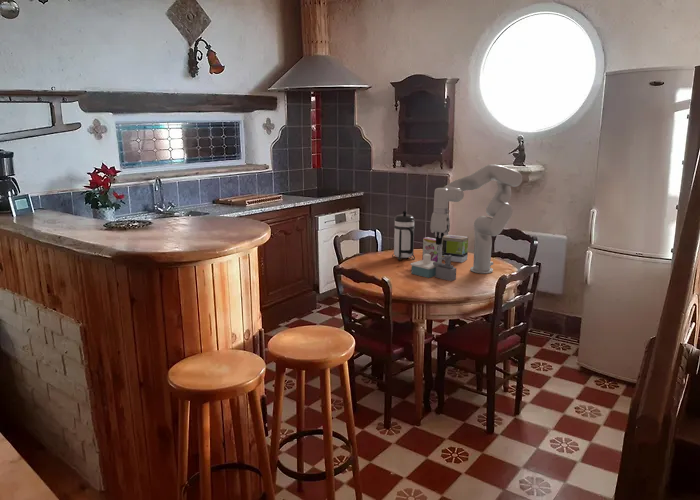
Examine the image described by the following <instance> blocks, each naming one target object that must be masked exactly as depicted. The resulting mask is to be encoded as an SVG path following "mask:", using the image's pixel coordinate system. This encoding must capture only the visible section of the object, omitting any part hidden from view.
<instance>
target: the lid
mask: <svg viewBox="0 0 700 500" xmlns="http://www.w3.org/2000/svg"><path fill="white" fill-rule="evenodd" d="M422 255H423V254H422ZM433 262H435V261H431V255H430V254H424V255H423V260H422V259H420V260H418V261H414V262H411V263H410V266H411V267H412V266H416V267H421V268H425V269H432V268H436V266H437V265H433Z"/></svg>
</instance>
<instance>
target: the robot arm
mask: <svg viewBox="0 0 700 500" xmlns="http://www.w3.org/2000/svg"><path fill="white" fill-rule="evenodd" d="M522 175H523V174H521V172H520V171H517V170H515V169H512V168H508V167H506V166H503V165H498V164H487V165H485V166H483V167H481V168H480V169H478V170H477V171H475V172H473V173H472V174H470V175H469V174H468V175H467V176H464V177H461V178H457V179H455V180H453V181H451V182H449V183H448V184H446V185H444V186H443V187H437V188H435V189H434V197H433V212H432V214H431V218H430V226H429V229H430V233H432V234H433V235H434V237H435V239H436V245H440V244H442V237H443V236H444V235H449V232H450V230H451V229H450V228H451V225H450V224H451V223H450V221H451V220H450V219H451V218H450V215H449V213H450V210H449V208H448V207H449V203H450V202H453V203H458V202H461V201H462V200H463V199H464V196H465V193H464V192H465V191H473V190H477V189H480V188H481V187H483V186H484V185H486V184H488V183H489V182H492V181H494V182H496V185H497V186H496V187H497V188H496V192H495V193H494V195H493V197H492V198H491V200H490V202H489V203H488V204H487V207H486V209H485V213H486V215H487V216H486V215H481V216H477V217H476V218H475V220H474V222H473V230H474V231H473V232H474V247H473V261H472V262H473V266H471V267H470V268H469V269H470V271H471V272H472V273H476V274H491V273H493V271H494V269H493V268H492V266H494V262H493V261H492V259H491V258H492V247H493V246H492V243H493V238H492V237H496V236H498V235H500V234H501V233H502V232H503V230H504V228H506V226H507V224H508V223H509V221H510V219H511V218H512V217H513V210H514V209H513V206H512V204H510V203H509V202H510V200H511V198H512V187H513V188H515V187H516V188H517V187H519V186H520V185H521V184H522V182H523V176H522Z"/></svg>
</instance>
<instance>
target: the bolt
mask: <svg viewBox="0 0 700 500" xmlns="http://www.w3.org/2000/svg"><path fill="white" fill-rule="evenodd" d="M451 257H452V255H447V256H444V259H445V260H444V263H443V262H442V263H439V262H433V265H437V266H441V267H446V268H450V269H452V268H455V267H454V265H453V264H451V263H452V261H451Z"/></svg>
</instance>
